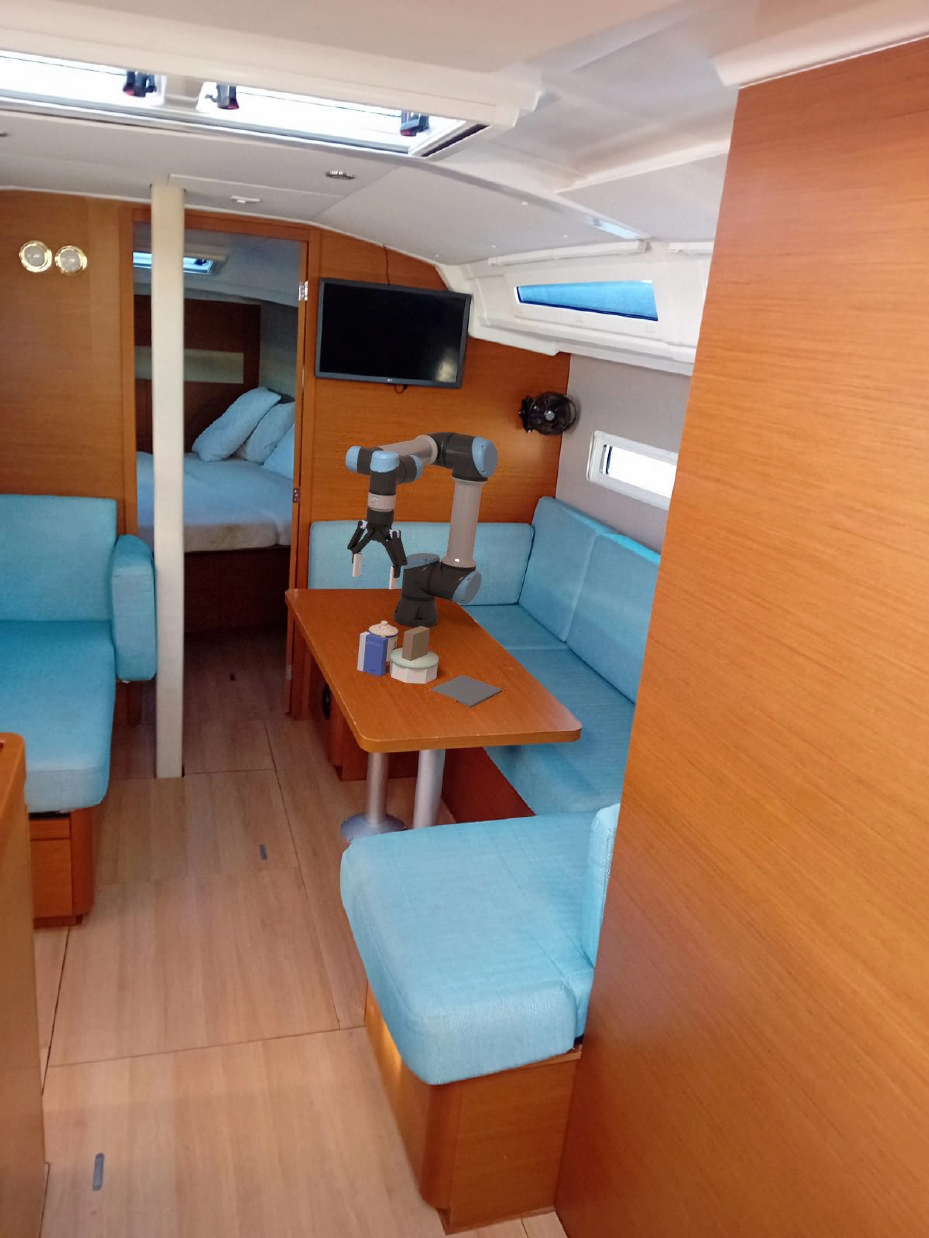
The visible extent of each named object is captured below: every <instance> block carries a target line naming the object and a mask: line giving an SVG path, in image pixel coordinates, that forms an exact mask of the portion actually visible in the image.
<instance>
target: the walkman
mask: <svg viewBox="0 0 929 1238" xmlns="http://www.w3.org/2000/svg"><path fill="white" fill-rule="evenodd" d="M387 648H388V638H386V637H385V636H383V635H381V636H379V635H376V634H372V633H369V632H368V631H364V632H361V633H360V634H359V647H358V655H357V656H358V657H357V667H356V669H357V671H360V672H363V673H366V674H371V675H373V676H377V677H382V676H384V675H385V674H386V668H387V667H386V665H387V661H386V658H387Z"/></svg>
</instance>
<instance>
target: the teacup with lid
mask: <svg viewBox="0 0 929 1238" xmlns="http://www.w3.org/2000/svg"><path fill="white" fill-rule="evenodd" d="M367 632H369V633H372V634H376V635H379V636H381V635H383V636H385V637H386V638H388V648H387V658H386V662H390V653H391V652H392V651H393V650H395V649H397V644H398V635H399V634H400V633H399V629H398V628H397V627H396V626H393V625H391V624H389V623H388V621H387V620H381V621H380V623H377V624H373V625H370V626H369V628H368V630H367Z"/></svg>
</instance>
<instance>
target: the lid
mask: <svg viewBox="0 0 929 1238" xmlns="http://www.w3.org/2000/svg"><path fill="white" fill-rule="evenodd" d="M430 630H431V629H430V627H423V626H419V627H412V628H411V629H408V630H406V631H404V632H403V641H402V647H398V648H396V649H395V650H393V651H392V652H391V653H390V660H391V661H392V662H393V663H394V664H396V665H398V666H401V667H404V668H409V669H430V668H433V667H435V666H437V665H439V661H440V660H439V659H440V657H439V656H438V654H436V653H435V652H433V651H430V650H429V642H430V641H429V640H430V632H431V631H430Z"/></svg>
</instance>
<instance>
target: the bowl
mask: <svg viewBox="0 0 929 1238" xmlns="http://www.w3.org/2000/svg"><path fill="white" fill-rule="evenodd" d="M438 665H439V664H438ZM438 665H437V666H435V667H433V668H430V669H409V668H404V667H401V666H398V665H396V664H394V663H393V662H392V661H391V660H390V661H389V668H388V670H389V672H390V677H391V678H393V679H396V680H397V681H400V682H403V683H405V684H423V685H424V684H427V683H429V682H431V681H432V682H433V681H434V680H436V679H437V674H438V673H437V672H438Z"/></svg>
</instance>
